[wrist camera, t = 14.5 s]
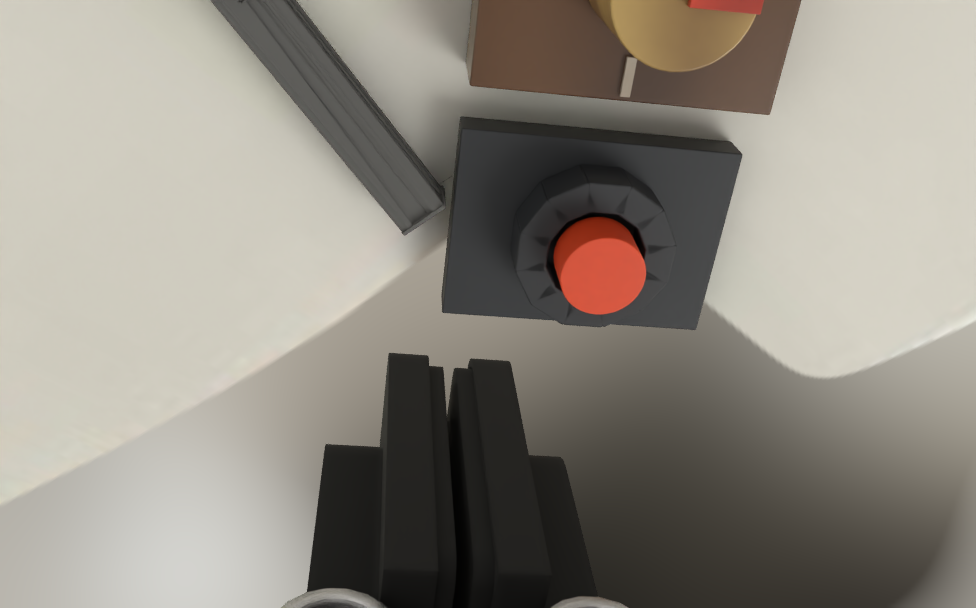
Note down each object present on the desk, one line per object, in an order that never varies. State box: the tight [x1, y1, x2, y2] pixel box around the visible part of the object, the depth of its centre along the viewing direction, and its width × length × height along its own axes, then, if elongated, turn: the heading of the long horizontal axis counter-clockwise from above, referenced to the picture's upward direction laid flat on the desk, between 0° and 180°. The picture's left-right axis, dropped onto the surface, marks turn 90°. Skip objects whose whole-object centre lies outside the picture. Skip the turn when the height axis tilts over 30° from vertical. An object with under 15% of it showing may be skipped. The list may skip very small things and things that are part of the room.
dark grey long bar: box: [211, 0, 450, 236], centre depth 30 cm, size 19×3×4 cm, turn 35°
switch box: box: [442, 117, 742, 330], centre depth 36 cm, size 11×8×4 cm
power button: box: [553, 217, 646, 314], centre depth 34 cm, size 3×3×2 cm
